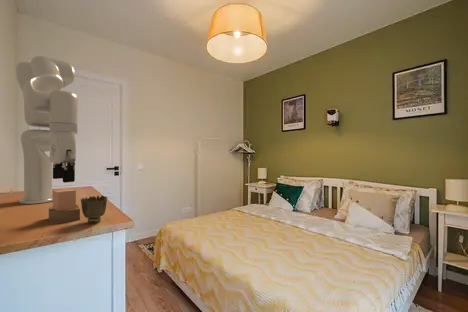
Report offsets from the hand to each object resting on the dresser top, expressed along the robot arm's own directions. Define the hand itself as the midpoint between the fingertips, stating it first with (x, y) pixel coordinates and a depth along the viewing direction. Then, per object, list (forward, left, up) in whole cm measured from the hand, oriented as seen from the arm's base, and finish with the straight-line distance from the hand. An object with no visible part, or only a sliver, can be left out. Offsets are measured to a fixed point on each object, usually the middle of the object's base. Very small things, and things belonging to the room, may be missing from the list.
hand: (63, 180), depth 79 cm
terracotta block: (+1, 0, -9) cm, 9 cm away
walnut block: (+1, 0, -13) cm, 13 cm away
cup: (+12, +5, -13) cm, 18 cm away
